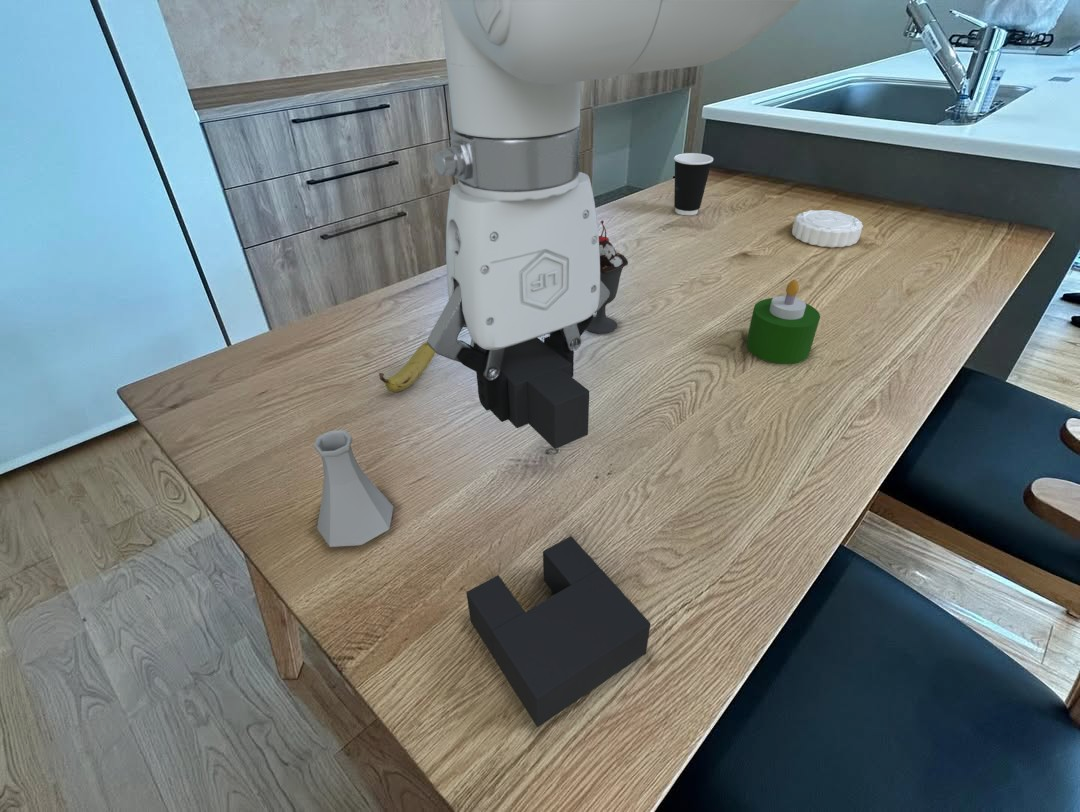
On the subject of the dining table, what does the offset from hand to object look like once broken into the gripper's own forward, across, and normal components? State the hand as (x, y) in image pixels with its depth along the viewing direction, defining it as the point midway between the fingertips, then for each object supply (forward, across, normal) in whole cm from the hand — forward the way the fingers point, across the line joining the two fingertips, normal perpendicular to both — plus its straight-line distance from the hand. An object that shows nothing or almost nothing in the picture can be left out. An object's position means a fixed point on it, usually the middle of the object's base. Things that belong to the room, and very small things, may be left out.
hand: (527, 397), depth 46 cm
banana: (+15, 0, +29) cm, 33 cm away
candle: (+15, +45, +9) cm, 49 cm away
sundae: (+15, +29, +28) cm, 43 cm away
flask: (+15, -14, +10) cm, 23 cm away
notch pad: (+15, -4, -11) cm, 19 cm away
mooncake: (+15, +86, +31) cm, 93 cm away
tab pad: (0, 0, -2) cm, 2 cm away
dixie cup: (+15, +75, +57) cm, 95 cm away
